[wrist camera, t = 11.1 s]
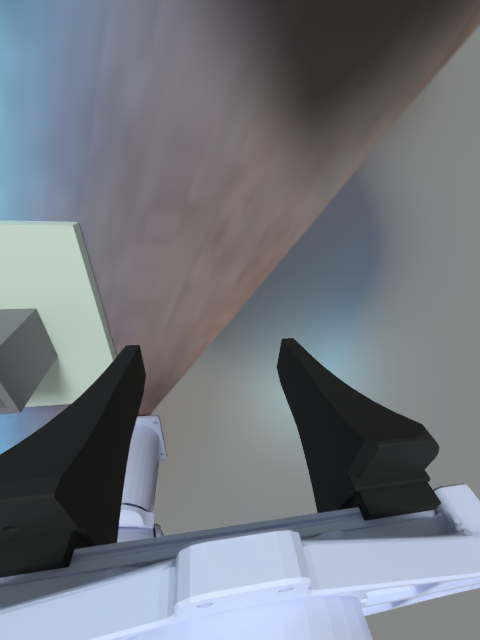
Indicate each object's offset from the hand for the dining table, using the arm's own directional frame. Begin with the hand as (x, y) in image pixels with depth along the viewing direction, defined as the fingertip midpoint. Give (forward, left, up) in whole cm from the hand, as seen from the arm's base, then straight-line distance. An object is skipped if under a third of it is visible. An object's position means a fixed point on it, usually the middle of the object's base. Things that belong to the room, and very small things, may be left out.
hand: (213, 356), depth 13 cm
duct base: (-5, +16, -10) cm, 20 cm away
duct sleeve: (-5, +16, -9) cm, 19 cm away
